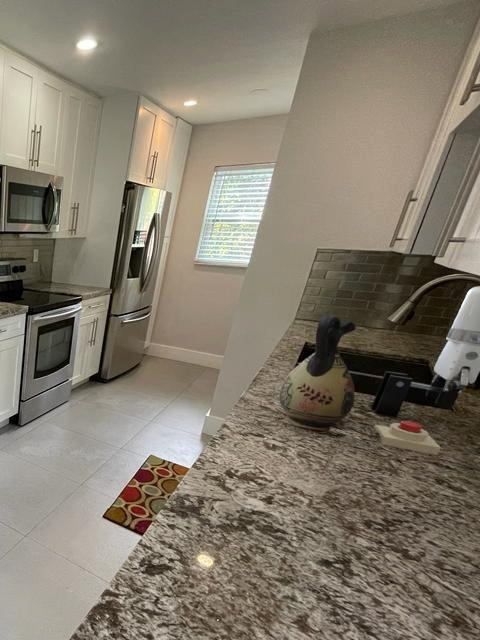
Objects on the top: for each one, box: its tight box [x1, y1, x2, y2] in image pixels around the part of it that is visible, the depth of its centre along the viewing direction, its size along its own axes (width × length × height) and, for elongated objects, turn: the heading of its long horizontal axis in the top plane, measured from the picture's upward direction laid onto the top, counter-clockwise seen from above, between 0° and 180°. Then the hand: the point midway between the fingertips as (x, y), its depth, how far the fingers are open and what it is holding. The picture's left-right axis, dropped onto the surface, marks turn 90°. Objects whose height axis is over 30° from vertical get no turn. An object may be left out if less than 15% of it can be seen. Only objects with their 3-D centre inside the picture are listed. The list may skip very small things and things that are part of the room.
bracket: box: [370, 371, 414, 418], centre depth 115 cm, size 12×10×13 cm
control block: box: [373, 422, 442, 456], centre depth 102 cm, size 10×8×4 cm
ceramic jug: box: [278, 315, 357, 433], centre depth 107 cm, size 17×15×30 cm
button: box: [399, 420, 423, 433], centre depth 101 cm, size 4×4×2 cm
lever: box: [387, 375, 445, 392], centre depth 111 cm, size 12×6×2 cm, turn 59°
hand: (438, 401), depth 110 cm, fingers closed on lever, 5 cm apart
